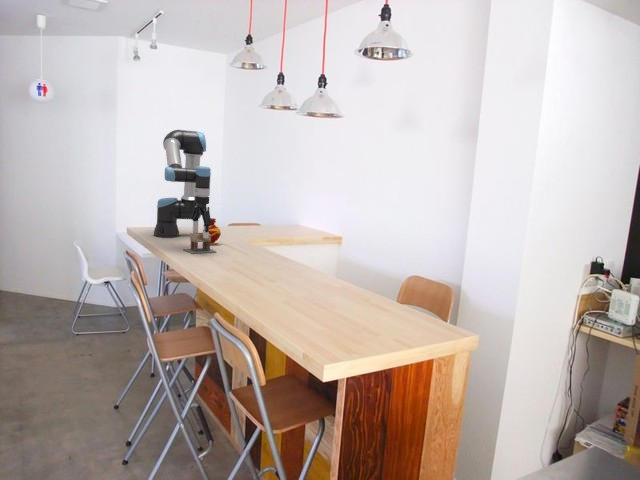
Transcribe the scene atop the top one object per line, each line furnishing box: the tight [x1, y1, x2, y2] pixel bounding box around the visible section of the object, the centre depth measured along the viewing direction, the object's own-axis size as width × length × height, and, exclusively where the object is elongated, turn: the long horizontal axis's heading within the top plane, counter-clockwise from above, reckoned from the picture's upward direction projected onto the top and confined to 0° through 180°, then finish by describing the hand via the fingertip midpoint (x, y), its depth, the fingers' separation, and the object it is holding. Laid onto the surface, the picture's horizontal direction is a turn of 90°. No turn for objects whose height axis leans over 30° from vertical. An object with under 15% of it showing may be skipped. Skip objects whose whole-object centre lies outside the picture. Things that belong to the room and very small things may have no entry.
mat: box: [183, 247, 217, 255], centre depth 261 cm, size 11×14×1 cm
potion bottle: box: [209, 217, 222, 246], centre depth 283 cm, size 10×10×15 cm
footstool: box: [189, 232, 211, 252], centre depth 260 cm, size 9×6×9 cm, turn 127°
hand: (200, 235), depth 260 cm, fingers open, 13 cm apart
